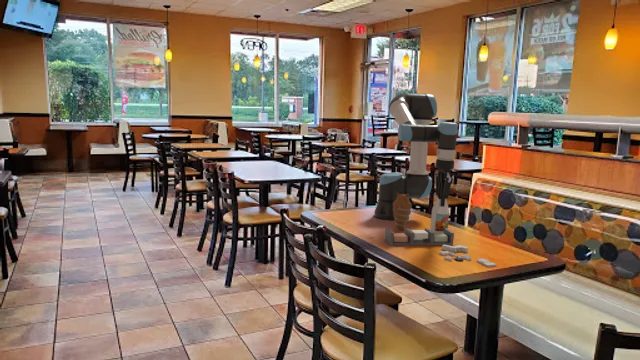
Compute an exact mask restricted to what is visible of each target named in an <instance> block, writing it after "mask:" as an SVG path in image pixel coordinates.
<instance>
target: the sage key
mask: <svg viewBox="0 0 640 360" xmlns="http://www.w3.org/2000/svg"><path fill="white" fill-rule="evenodd" d="M447 240H448V236H447V235H445V234H444V233H434V242H447Z"/></svg>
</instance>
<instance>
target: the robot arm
mask: <svg viewBox="0 0 640 360" xmlns="http://www.w3.org/2000/svg"><path fill="white" fill-rule="evenodd" d="M388 111H389V114H390V115H391V116H392V117H393V118H394V119H395V121H396V122H397V125H398V128H397V129H398V130H397V138H398V140H399V141H400V142H408V143H409V142H410V154H409V169H407V171H406V172H405V175H404V174H403V173H402V172H396V171H395V172H386V173H383V174H381V175H380V176H379V183H378V184H379V187H378V201H377V204H376V207H375V209H374V212H373V213H374V214H373V215H374V217H375V218H376V219H377V218H378V219H380V220H385V221H386V220H387V221H395V217H394V211H393V207H394V206H393V202H394V201H395V200H396V199H397V197H398V195H397V193H400V194H405V195H406V194H408V193H409V196H408V198H409V199H417V200H418V199H419V200H420V199H426V198H428V197H429V195H430V194H431V192H432V191H431V190H432V185H433V182H432V181H433V178H432V177H431V176H430V174H429V172H428V171H427V161H428V148H429V147H428V144H429V143H437V144H436V145H437V147H436V148H437V149H436V152H435V153H436V158H437V159H435V168H436V169H438V170H437V172H435V173H434V176H435V177H434V178H435V195H436V198H437V197H438V204H437V213H438V214H444V209H445V199H446V200H447V199H449V196H450V192H451V187H452V183H453V180H454V179H453V177H451V170H453V169H455V168H454V167H455V158H456V150H457V149H456V148H457V136H458V132H459V131H458V123H456V122H447V121H443V122H442V121H441V122H440V123H439V124H434V125H433V124H430V123H432V122H433V118H436V117H437V112H438V104H437V99H436V97H435V96H434V95H433V94H429V93H411V92H410V93H407V92H403V93H400V94H398V95H395V96H394V97H393V98H392V99H391V100H390V102H389V105H388Z"/></svg>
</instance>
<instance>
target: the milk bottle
mask: <svg viewBox="0 0 640 360" xmlns="http://www.w3.org/2000/svg"><path fill="white" fill-rule="evenodd" d="M437 204H438V197H437V196H436V200H435V202H434V204H433V206H432V209H431V216H430V217H431V219H430V226H429V227H430V228H429V230H431V231H432V232H434V233H443V230H444V228H447V229H449V217H450V216H449V215H450V210H449V205H448V203H447V199H445V209H444V214H438V213H437Z"/></svg>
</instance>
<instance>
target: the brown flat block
mask: <svg viewBox="0 0 640 360" xmlns="http://www.w3.org/2000/svg"><path fill="white" fill-rule="evenodd" d="M393 233H394V238H393V242H407V241H408V236H407V235H406V234H405V232H396V233H395V232H393Z"/></svg>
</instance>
